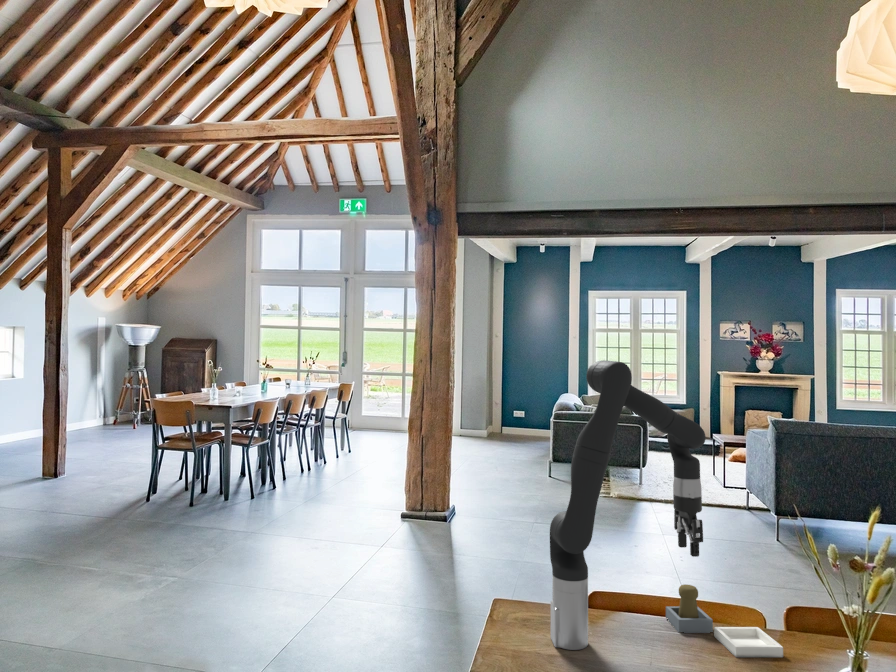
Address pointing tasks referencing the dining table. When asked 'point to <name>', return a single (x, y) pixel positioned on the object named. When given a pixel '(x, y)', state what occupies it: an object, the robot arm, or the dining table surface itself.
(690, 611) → the cork
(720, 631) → the tray
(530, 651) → the dining table surface
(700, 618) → the box
